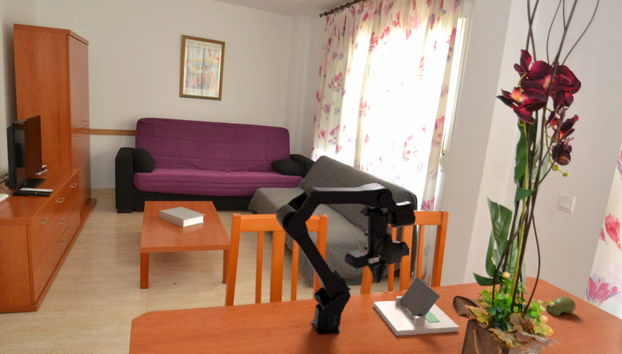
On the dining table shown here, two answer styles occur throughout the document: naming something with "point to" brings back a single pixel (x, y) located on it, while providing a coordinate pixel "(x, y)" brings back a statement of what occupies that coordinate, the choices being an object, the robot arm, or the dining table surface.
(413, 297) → the dark grey square panel
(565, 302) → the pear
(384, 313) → the pivot board
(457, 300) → the sunglasses case
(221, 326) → the dining table surface
